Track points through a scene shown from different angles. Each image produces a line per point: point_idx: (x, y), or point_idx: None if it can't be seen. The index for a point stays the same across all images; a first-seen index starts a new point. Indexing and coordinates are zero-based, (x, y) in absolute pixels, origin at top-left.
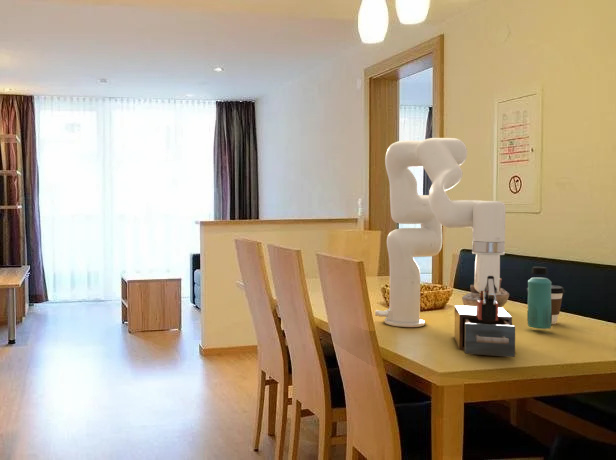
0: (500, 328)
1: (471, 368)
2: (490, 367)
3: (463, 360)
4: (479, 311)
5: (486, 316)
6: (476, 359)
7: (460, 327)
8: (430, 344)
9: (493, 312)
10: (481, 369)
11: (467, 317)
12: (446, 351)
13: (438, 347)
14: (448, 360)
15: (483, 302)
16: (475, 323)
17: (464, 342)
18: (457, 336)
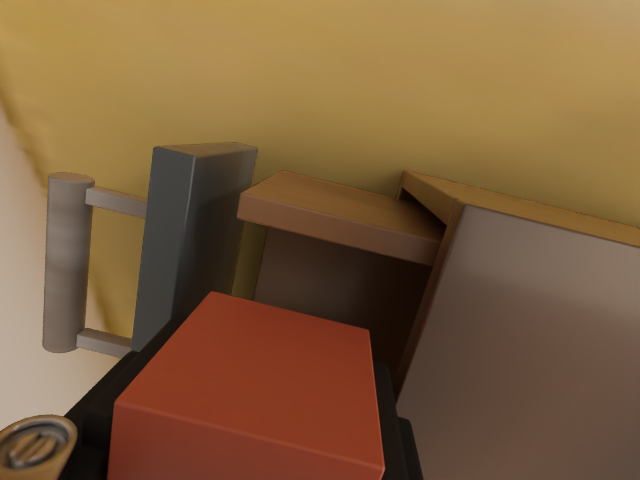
0: None
1: (29, 96)
2: None
3: (173, 110)
4: (176, 335)
5: (134, 353)
6: None
7: (430, 191)
8: (534, 31)
9: None
10: (25, 139)
11: (433, 265)
12: (357, 79)
13: (454, 60)
14: (159, 24)
15: (56, 446)
16: (175, 239)
17: (411, 203)
18: (534, 204)
